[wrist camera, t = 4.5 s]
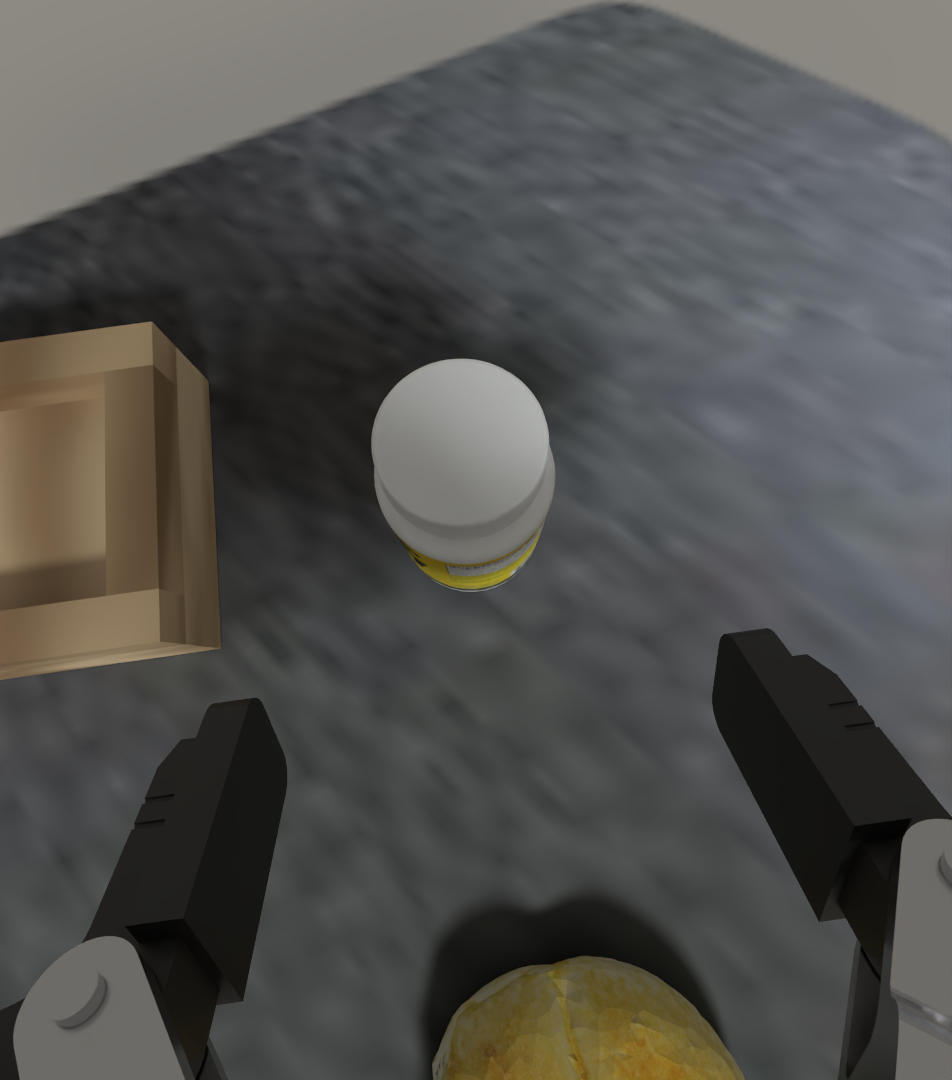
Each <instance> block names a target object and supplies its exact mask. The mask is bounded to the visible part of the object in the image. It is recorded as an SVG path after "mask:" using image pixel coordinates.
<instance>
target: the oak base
mask: <svg viewBox="0 0 952 1080" xmlns="http://www.w3.org/2000/svg"><path fill="white" fill-rule="evenodd" d="M214 649H221V630H220V609H219V588H218V567H217V546H216V525H215V504H214V483H213V462H212V441H211V420H210V398H209V381H208V380H207V379H206V378H205V377H204V376H203V375H202V374H201V373H200V372H199V371H198V369H197V368H196V367H195V366H194V365H193V364H192V363H191V362H190V361H189V360H188V359H187V358H186V357H185V356H184V355H183V354H182V353H181V352H180V351H179V349H178V348H177V347H176V346H175V345H174V344H173V343H172V342H171V341H170V340H169V339H168V338H167V337H166V336H165V335H164V334H163V333H162V332H161V330H160V329H159V328H158V327H157V326H156V325H155V324H154V323H153V322H152V321H151V322H143V323H136V324H129V325H122V326H114V327H107V328H100V329H92V330H85V331H78V332H71V333H63V334H56V335H49V336H42V337H34V338H27V339H20V340H12V341H5V342H0V680H2V679H9V678H17V677H24V676H31V675H38V674H45V673H52V672H59V671H66V670H73V669H80V668H87V667H94V666H101V665H108V664H115V663H122V662H129V661H136V660H143V659H150V658H158V657H165V656H172V655H179V654H186V653H193V652H200V651H207V650H214Z"/></svg>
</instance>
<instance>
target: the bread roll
mask: <svg viewBox="0 0 952 1080" xmlns="http://www.w3.org/2000/svg"><path fill="white" fill-rule="evenodd" d="M432 1068H433V1080H745V1078H744V1076H743V1074H742V1072H741V1070H740V1068H739V1067H738V1065H737V1063H736V1062H735V1060H734V1059H733V1057H732V1055H731V1054H730V1053H729V1051H728V1050H727V1048H726V1047H725V1046H724V1044H723V1043H722V1041H721V1040H720V1038H719V1036H718V1035H717V1033H716V1032H715V1031H714V1029H713V1028H712V1027H711V1026H710V1024H709V1023H708V1022H707V1021H706V1020H705V1019H704V1018H703V1017H702V1016H701V1015H700V1013H699V1012H698V1010H697V1009H696V1008H695V1006H694V1005H692V1004H691V1003H690V1002H689V1001H688V1000H687V999H686V998H685V997H683V996H682V995H681V994H680V993H679V992H677V991H676V990H675V989H674V988H672V987H670V986H669V985H668V984H666V983H665V982H664V981H662V980H661V979H660V978H659V977H657V976H655V975H653V974H651V973H649V972H648V971H646V970H644V969H641V968H639V967H636V966H634V965H631V964H628V963H624V962H620V961H617V960H615V959H611V958H603V957H592V956H578V957H575V958H570V959H566V960H563V961H560V962H556V963H554V964H552V965H530V966H526V967H521V968H518V969H515V970H513V971H510V972H508V973H506V974H504V975H502V976H500V977H498V978H496V979H495V980H493V981H491V982H490V983H488V984H487V985H485V986H483V987H482V988H481V989H480V990H479V991H477V992H476V993H475V994H474V995H473V996H472V997H471V998H469V999H468V1000H467V1001H466V1002H465V1003H463V1004H462V1005H461V1006H460V1007H459V1009H458V1010H457V1011H456V1012H455V1014H454V1015H453V1016H452V1019H451V1021H450V1023H449V1025H448V1027H447V1030H446V1032H445V1034H444V1037H443V1039H442V1041H441V1044H440V1047H439V1050H438V1052H437V1053H436V1056H435V1058H434V1060H433V1064H432Z"/></svg>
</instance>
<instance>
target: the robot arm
mask: <svg viewBox="0 0 952 1080" xmlns="http://www.w3.org/2000/svg"><path fill="white" fill-rule="evenodd" d="M712 704H713V711H714V716H715V719H716V722H717V725H718V728H719V730H720V732H721V734H722V736H723V738H724V740H725V742H726V744H727V746H728V748H729V750H730V752H731V754H732V756H733V757H734V759H735V761H736V763H737V765H738V767H739V769H740V771H741V773H742V775H743V777H744V779H745V781H746V782H747V784H748V786H749V788H750V790H751V792H752V794H753V796H754V798H755V800H756V802H757V804H758V805H759V807H760V809H761V811H762V813H763V815H764V817H765V819H766V821H767V823H768V825H769V827H770V828H771V830H772V832H773V834H774V836H775V838H776V840H777V842H778V844H779V846H780V848H781V850H782V851H783V853H784V855H785V857H786V859H787V861H788V863H789V865H790V867H791V869H792V871H793V873H794V874H795V876H796V878H797V880H798V882H799V884H800V886H801V888H802V890H803V892H804V894H805V896H806V897H807V899H808V901H809V903H810V905H811V907H812V909H813V911H814V913H815V915H816V917H817V919H818V920H819V922H822V921H829V920H836V919H843V918H846V919H847V921H848V923H849V924H850V926H851V928H852V930H853V932H854V933H855V935H856V937H857V939H858V940H857V942H856V946H855V950H854V958H853V965H852V973H851V981H850V989H849V997H848V1005H847V1012H846V1020H845V1028H844V1036H843V1044H842V1052H841V1059H840V1067H839V1075H838V1080H952V817H951V816H950V815H949V813H948V812H947V811H946V810H945V809H944V808H943V806H942V805H941V804H940V803H939V802H938V800H937V799H936V798H935V797H934V795H933V794H932V793H931V792H930V790H929V789H928V788H927V787H926V785H925V784H924V783H923V782H922V780H921V779H920V778H919V777H918V775H917V774H916V773H915V772H914V770H913V769H912V768H911V767H910V765H909V764H908V763H907V762H906V760H905V759H904V758H903V757H902V755H901V754H900V753H899V752H898V750H897V749H896V748H895V747H894V745H893V744H892V743H891V742H890V740H889V739H888V738H887V737H886V735H885V734H884V733H883V732H882V730H881V729H880V728H879V727H876V726H875V724H874V720H873V719H872V718H871V717H870V715H869V714H868V713H867V712H866V710H865V709H864V708H863V707H862V705H860V706H859V705H858V703H857V699H856V698H855V697H854V696H853V694H852V693H851V692H850V691H849V689H848V688H847V687H846V686H845V684H844V683H843V682H842V681H841V679H840V678H839V677H838V676H837V674H835V673H834V672H832V671H831V670H829V669H828V668H826V667H825V666H823V665H822V664H820V663H819V662H818V661H816V660H815V659H813V658H812V657H810V656H809V655H807V654H805V655H798V656H792V655H791V654H790V652H789V651H788V650H787V648H786V647H785V646H784V644H783V643H782V642H781V640H780V639H779V638H778V636H777V635H776V634H775V633H774V632H773V631H772V630H770V629H768V628H765V629H758V630H751V631H743V632H736V633H729V634H724V635H722V637H721V639H720V642H719V649H718V656H717V664H716V671H715V678H714V686H713V693H712ZM286 789H287V766H286V760H285V756H284V753H283V750H282V748H281V746H280V743H279V741H278V739H277V736H276V734H275V732H274V729H273V727H272V725H271V722H270V720H269V718H268V715H267V713H266V710H265V708H264V706H263V704H262V702H261V701H260V700H259V699H258V698H250V699H243V700H236V701H229V702H222V703H214V704H212V705H210V706H209V708H208V709H207V711H206V713H205V716H204V718H203V721H202V724H201V726H200V729H199V732H198V734H197V737H196V738H191V739H183V740H181V741H180V742H179V743H178V744H177V745H176V747H175V748H174V749H173V750H172V751H171V753H170V754H169V755H168V756H167V757H166V758H165V760H164V761H163V762H162V763H161V764H160V766H159V767H158V768H157V771H156V773H155V775H154V778H153V780H152V783H151V785H150V787H149V790H148V792H147V794H146V797H145V800H146V801H145V804H142V806H141V809H140V811H139V813H138V816H137V818H136V820H135V823H134V824H135V828H134V830H131V832H130V835H129V837H128V839H127V842H126V844H125V846H124V849H123V851H122V854H121V856H120V858H119V861H118V863H117V865H116V868H115V870H114V873H113V875H112V877H111V880H110V882H109V884H108V887H107V889H106V891H105V894H104V896H103V899H102V901H101V903H100V906H99V908H98V910H97V913H96V915H95V917H94V920H93V922H92V925H91V927H90V929H89V931H88V933H87V935H86V937H85V939H84V940H83V942H82V944H80V945H78V946H76V947H74V948H73V949H71V950H70V951H68V952H66V953H65V954H64V955H63V956H61V957H60V958H59V959H58V960H56V961H55V962H54V963H53V964H52V965H51V966H50V967H49V968H48V969H47V970H46V971H45V972H44V973H43V974H42V976H41V977H40V978H39V979H38V980H37V981H36V983H35V984H34V986H33V987H32V989H31V990H30V991H29V993H28V995H27V997H26V998H24V999H22V1000H21V1001H19V1002H17V1003H15V1004H13V1005H11V1006H9V1007H7V1008H4V1009H2V1010H0V1080H228V1078H227V1076H226V1074H225V1071H224V1069H223V1067H222V1064H221V1062H220V1060H219V1057H218V1055H217V1053H216V1050H215V1048H214V1046H213V1043H212V1041H211V1039H210V1038H209V1033H210V1029H211V1024H212V1020H213V1016H214V1012H215V1007H216V1005H220V1004H227V1003H234V1002H241V1001H243V998H244V993H245V988H246V984H247V979H248V974H249V969H250V964H251V959H252V954H253V950H254V945H255V940H256V935H257V930H258V925H259V920H260V916H261V911H262V906H263V901H264V896H265V891H266V886H267V882H268V877H269V872H270V867H271V862H272V857H273V853H274V848H275V843H276V838H277V833H278V828H279V823H280V819H281V814H282V809H283V804H284V799H285V794H286Z"/></svg>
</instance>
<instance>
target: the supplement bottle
mask: <svg viewBox="0 0 952 1080" xmlns="http://www.w3.org/2000/svg"><path fill="white" fill-rule="evenodd" d="M371 448H372V457H373V463H374V466H375V467H374V482H375V490H376V495H377V499H378V502H379V506H380V508H381V510H382V513H383V515H384V517H385V519H386V520H387V522H388V524H389V525H390V527H391V528H392V530H393V531H394V533H395V534H396V536H397V537H398V539H399V540H400V541H401V543H402V544H403V546H404V547H405V549H406V550H407V552H408V553H409V555H410V556H411V558H412V559H413V560H414V562H415V563H416V564H417V566H418V567H419V568H420V569H421V570H422V571H423V572H424V573H425V574H426V575H427V576H428V577H430V578H431V579H432V580H434V581H435V582H437V583H439V584H441V585H443V586H445V587H448V588H451V589H455V590H459V591H482V590H488V589H491V588H494V587H497V586H499V585H501V584H503V583H505V582H507V581H508V580H510V579H511V578H512V577H514V576H515V575H516V574H517V573H518V572H519V571H520V570H521V569H522V568H523V567H524V566H525V564H526V563H527V562H528V560H529V559H530V557H531V555H532V553H533V551H534V549H535V547H536V544H537V541H538V539H539V536H540V533H541V530H542V527H543V524H544V521H545V518H546V516H547V513H548V510H549V508H550V505H551V501H552V497H553V493H554V486H555V466H554V460H553V455H552V452H551V448H550V446H549V433H548V426H547V423H546V419H545V416H544V413H543V411H542V408H541V406H540V404H539V402H538V401H537V399H536V398H535V396H534V395H533V393H532V392H531V391H530V390H529V388H528V387H527V386H526V385H525V384H524V383H523V382H522V381H521V380H519V379H518V378H517V377H515V376H514V375H513V374H511V373H510V372H508V371H506V370H504V369H503V368H501V367H498V366H496V365H493V364H491V363H488V362H484V361H480V360H474V359H448V360H443V361H438V362H434V363H431V364H428V365H425V366H423V367H421V368H419V369H417V370H415V371H413V372H412V373H410V374H409V375H407V376H406V377H405V378H403V379H402V380H401V381H400V382H399V383H398V384H397V385H396V386H395V387H394V388H393V389H392V390H391V391H390V392H389V394H388V395H387V396H386V398H385V399H384V401H383V403H382V404H381V406H380V408H379V411H378V413H377V415H376V418H375V421H374V426H373V430H372V438H371Z"/></svg>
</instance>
